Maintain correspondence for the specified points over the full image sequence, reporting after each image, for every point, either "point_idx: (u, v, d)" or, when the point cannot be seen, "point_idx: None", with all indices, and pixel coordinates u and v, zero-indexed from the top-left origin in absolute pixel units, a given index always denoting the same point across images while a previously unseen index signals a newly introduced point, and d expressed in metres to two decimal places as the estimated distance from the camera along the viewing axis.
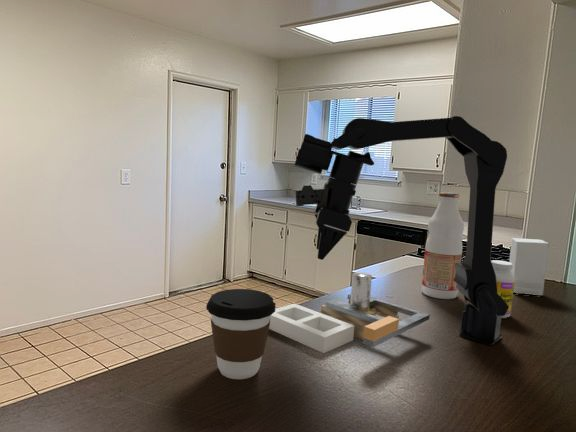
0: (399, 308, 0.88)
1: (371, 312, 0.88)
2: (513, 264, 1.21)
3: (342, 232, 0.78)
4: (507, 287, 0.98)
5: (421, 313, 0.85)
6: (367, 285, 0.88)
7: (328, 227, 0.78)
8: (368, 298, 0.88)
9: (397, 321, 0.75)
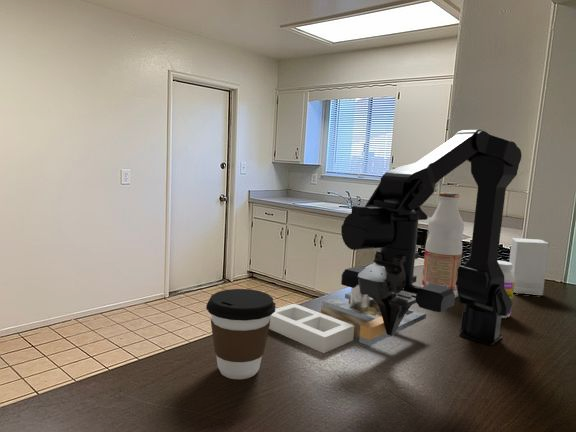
0: None
1: (371, 312, 0.88)
2: (513, 264, 1.21)
3: None
4: (507, 287, 0.98)
5: (418, 312, 0.86)
6: None
7: (411, 302, 0.69)
8: (368, 298, 0.88)
9: None
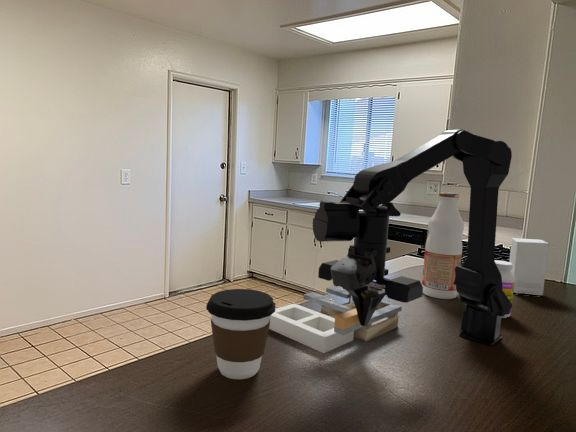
0: None
1: None
2: (513, 264, 1.21)
3: None
4: (507, 287, 0.98)
5: (394, 305, 0.90)
6: None
7: (382, 294, 0.73)
8: None
9: None
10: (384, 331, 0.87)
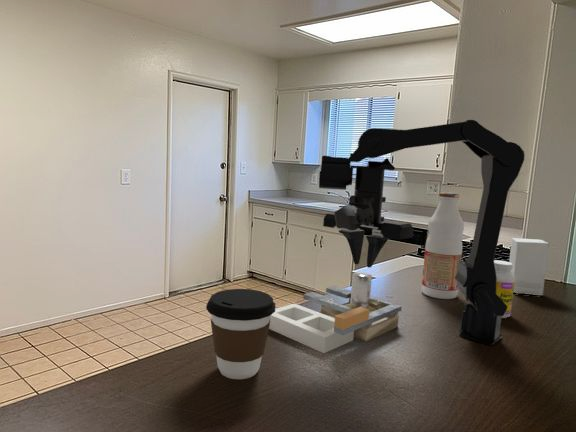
0: (373, 300, 0.93)
1: None
2: (513, 264, 1.21)
3: None
4: (507, 287, 0.98)
5: (394, 305, 0.90)
6: (367, 285, 0.88)
7: (384, 237, 0.84)
8: (368, 298, 0.88)
9: (367, 311, 0.80)
10: (384, 331, 0.87)
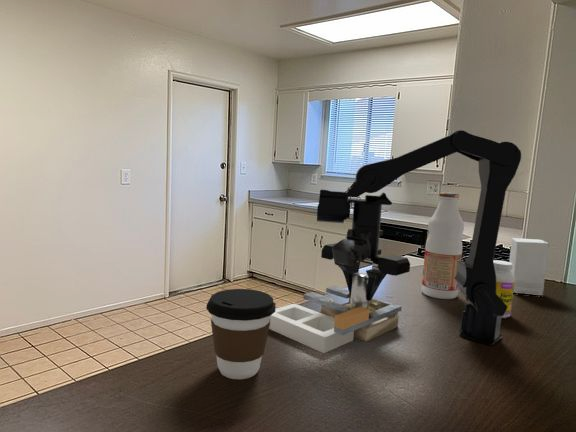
0: (373, 300, 0.93)
1: None
2: (513, 264, 1.21)
3: None
4: (507, 287, 0.98)
5: (394, 305, 0.90)
6: (367, 285, 0.88)
7: None
8: None
9: (367, 311, 0.80)
10: (384, 331, 0.87)
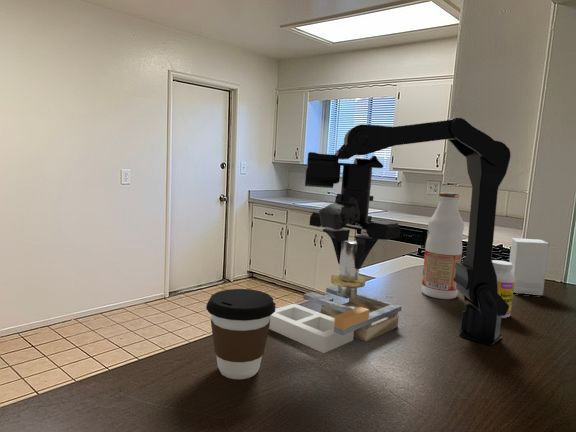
0: (373, 300, 0.93)
1: (360, 281, 0.84)
2: (513, 264, 1.21)
3: None
4: (507, 287, 0.98)
5: (394, 305, 0.90)
6: (355, 252, 0.84)
7: (373, 238, 0.81)
8: None
9: (367, 311, 0.80)
10: (384, 331, 0.87)
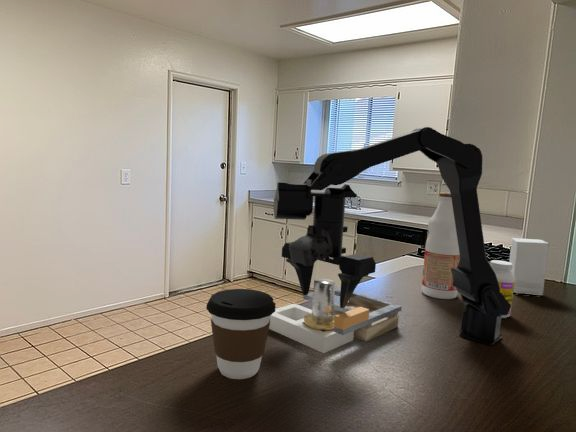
0: (373, 300, 0.93)
1: None
2: (513, 264, 1.21)
3: (367, 274, 0.76)
4: (507, 287, 0.98)
5: (394, 305, 0.90)
6: (329, 293, 0.79)
7: (358, 276, 0.74)
8: (331, 307, 0.80)
9: (367, 311, 0.80)
10: (384, 331, 0.87)
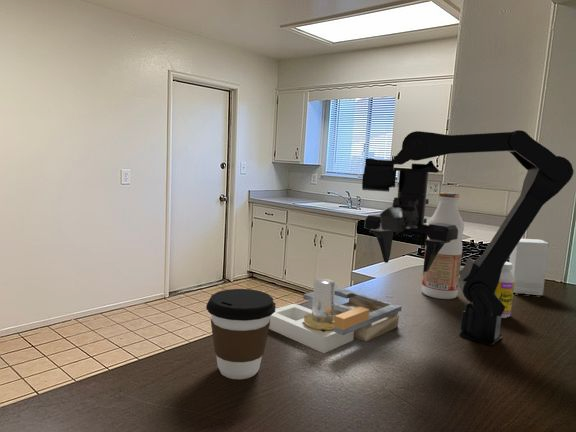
0: (373, 300, 0.93)
1: None
2: (513, 264, 1.21)
3: (449, 241, 0.85)
4: (507, 287, 0.98)
5: (394, 305, 0.90)
6: (329, 293, 0.79)
7: (443, 241, 0.83)
8: (331, 307, 0.80)
9: (367, 311, 0.80)
10: (384, 331, 0.87)
